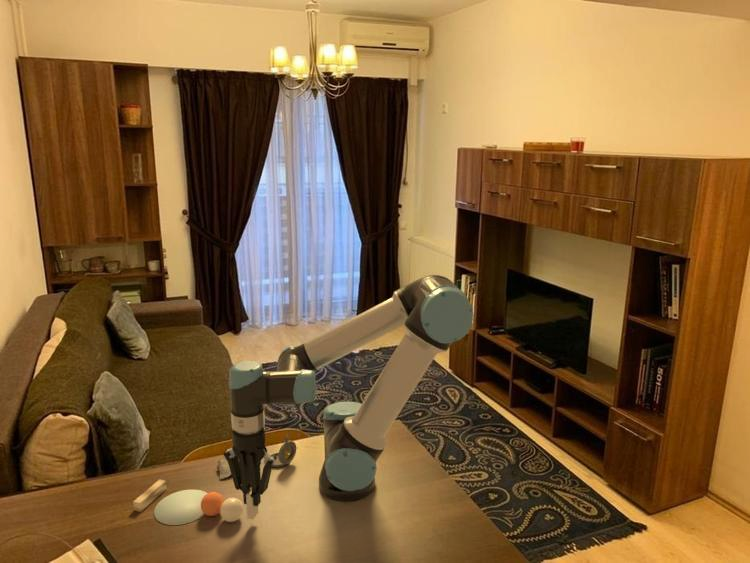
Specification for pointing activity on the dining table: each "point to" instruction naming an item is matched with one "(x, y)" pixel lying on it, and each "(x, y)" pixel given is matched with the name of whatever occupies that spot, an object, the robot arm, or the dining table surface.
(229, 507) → the cue ball
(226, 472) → the mineral specimen
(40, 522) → the dining table surface
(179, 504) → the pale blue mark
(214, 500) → the object ball
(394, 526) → the dining table surface
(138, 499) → the birch rail
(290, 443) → the pocket watch
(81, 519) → the dining table surface
